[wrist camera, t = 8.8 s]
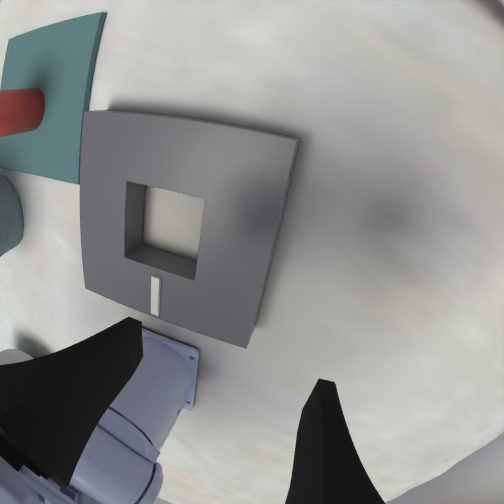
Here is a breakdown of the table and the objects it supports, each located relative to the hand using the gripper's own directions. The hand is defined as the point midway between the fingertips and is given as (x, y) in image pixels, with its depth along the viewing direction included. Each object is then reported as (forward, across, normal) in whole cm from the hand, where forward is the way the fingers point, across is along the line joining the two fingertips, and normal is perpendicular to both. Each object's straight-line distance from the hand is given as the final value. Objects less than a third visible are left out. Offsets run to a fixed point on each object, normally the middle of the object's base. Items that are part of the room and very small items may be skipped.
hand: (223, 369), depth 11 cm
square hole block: (+10, +7, -1) cm, 13 cm away
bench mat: (+10, +23, -9) cm, 27 cm away
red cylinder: (+10, +23, -8) cm, 26 cm away
